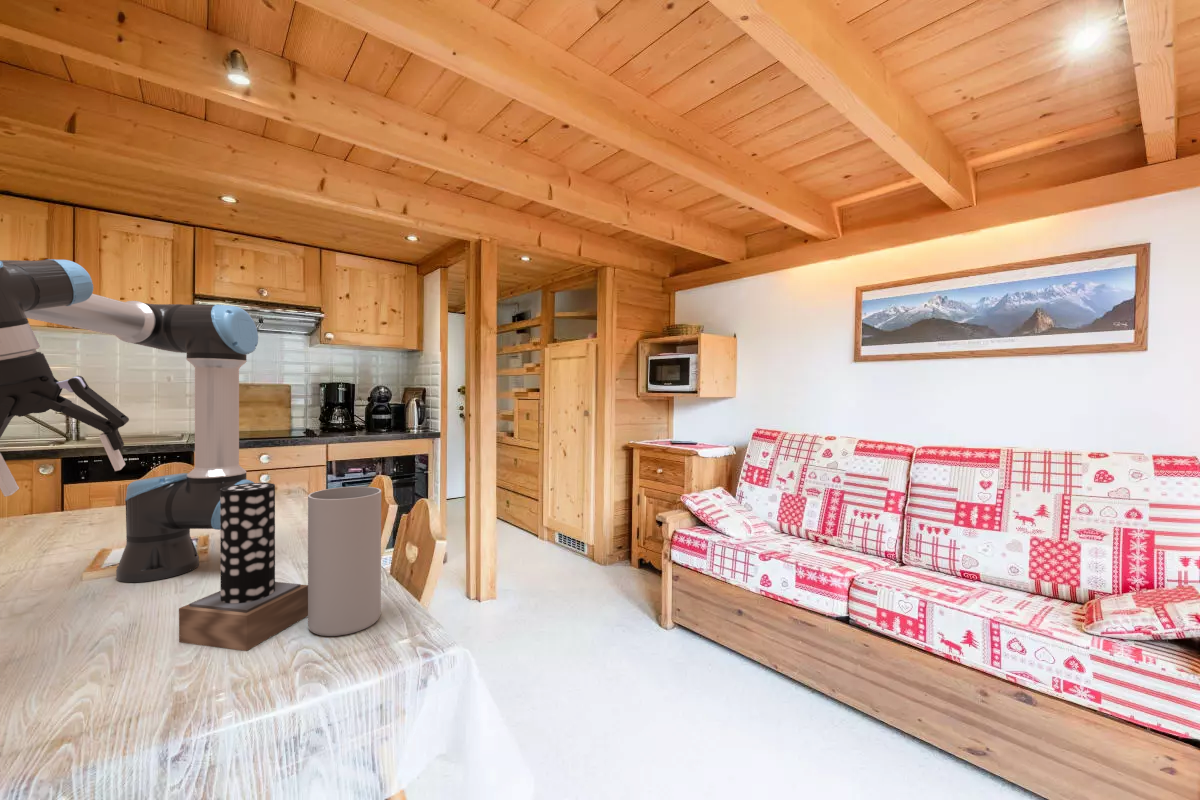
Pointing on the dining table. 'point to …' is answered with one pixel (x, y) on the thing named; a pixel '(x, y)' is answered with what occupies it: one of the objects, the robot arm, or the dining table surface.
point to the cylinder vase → (344, 560)
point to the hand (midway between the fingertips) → (68, 480)
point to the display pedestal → (242, 618)
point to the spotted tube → (247, 542)
